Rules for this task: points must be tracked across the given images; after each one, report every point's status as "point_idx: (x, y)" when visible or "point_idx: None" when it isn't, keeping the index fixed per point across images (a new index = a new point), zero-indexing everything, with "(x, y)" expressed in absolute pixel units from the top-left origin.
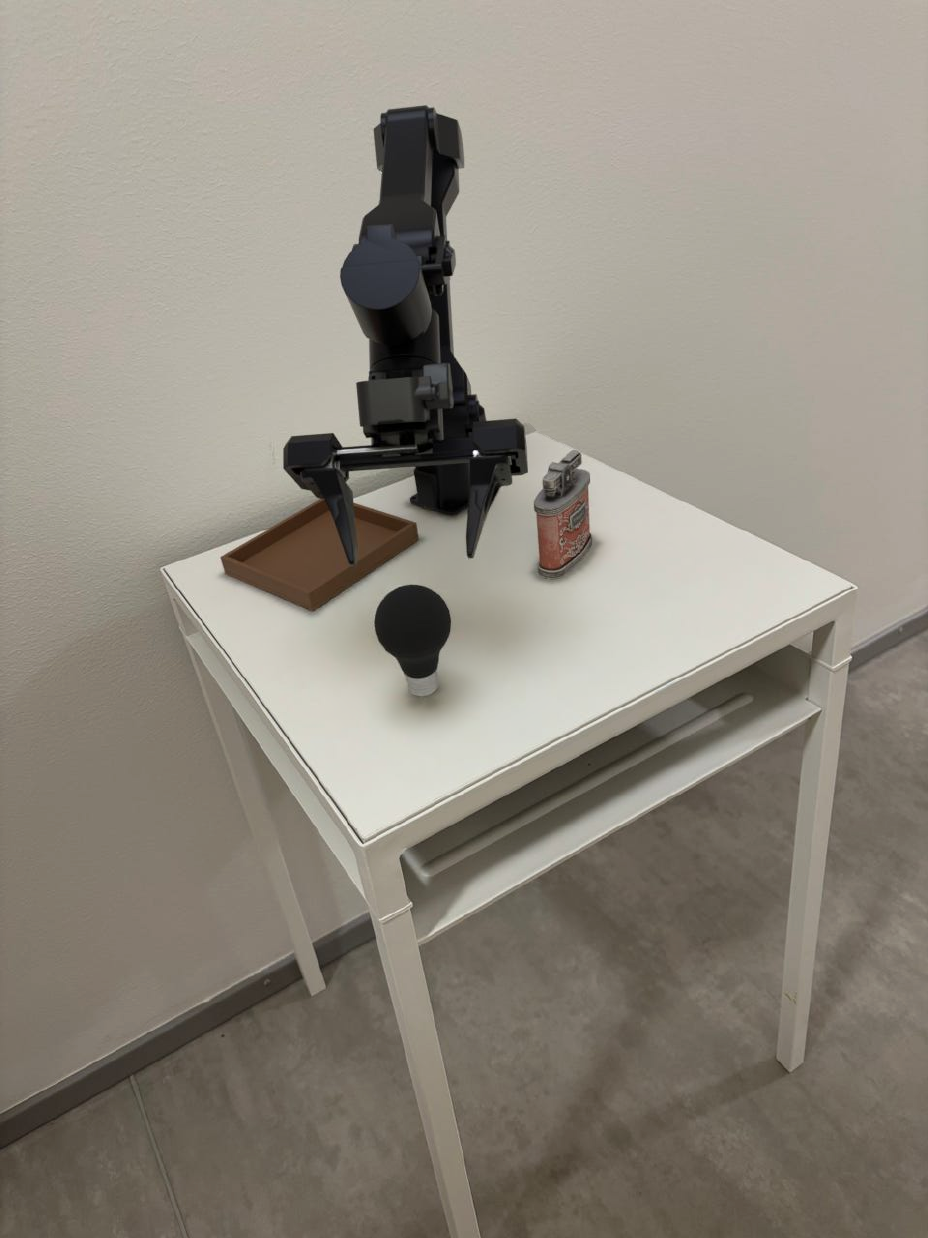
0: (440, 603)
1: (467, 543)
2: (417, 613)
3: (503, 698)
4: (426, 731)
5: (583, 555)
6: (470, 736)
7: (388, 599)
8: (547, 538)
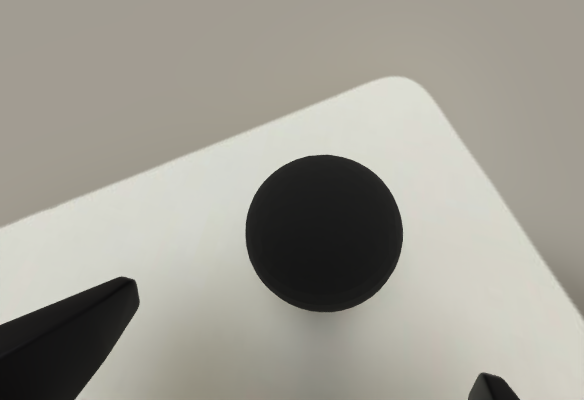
0: (255, 201)
1: (106, 292)
2: (308, 162)
3: (232, 225)
4: None
5: None
6: None
7: (367, 210)
8: None
